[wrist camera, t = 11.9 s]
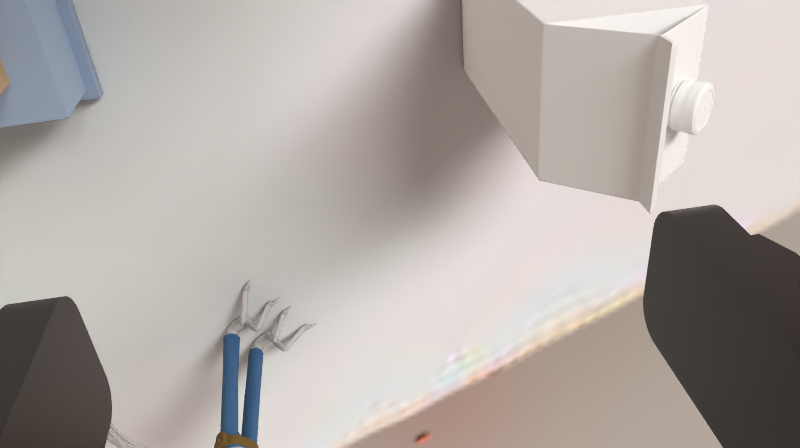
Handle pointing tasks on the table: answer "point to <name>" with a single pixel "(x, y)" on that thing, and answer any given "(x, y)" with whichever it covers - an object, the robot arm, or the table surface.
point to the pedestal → (43, 62)
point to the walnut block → (3, 78)
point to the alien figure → (229, 440)
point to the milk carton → (593, 86)
